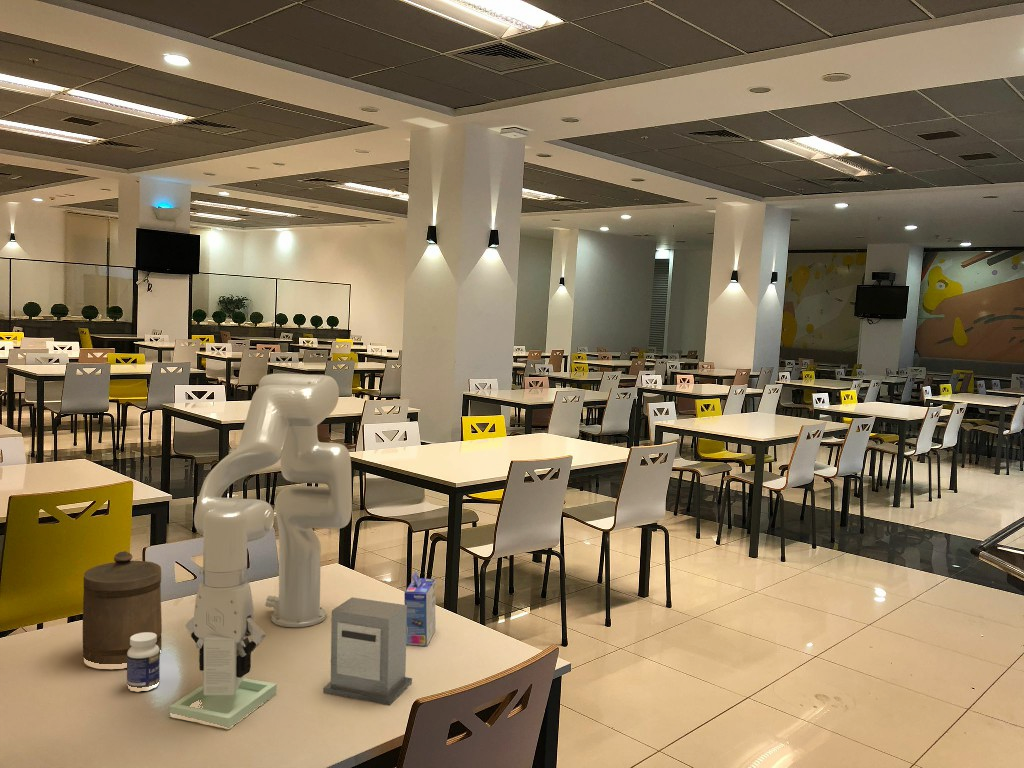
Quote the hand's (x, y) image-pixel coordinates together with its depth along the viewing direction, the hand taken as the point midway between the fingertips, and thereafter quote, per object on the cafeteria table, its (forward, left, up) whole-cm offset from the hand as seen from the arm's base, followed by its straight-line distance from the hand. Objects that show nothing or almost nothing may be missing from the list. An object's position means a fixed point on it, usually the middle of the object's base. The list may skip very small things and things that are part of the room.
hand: (224, 670), depth 151 cm
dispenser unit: (+21, +16, -7) cm, 27 cm away
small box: (0, 0, -3) cm, 3 cm away
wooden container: (-33, +11, -7) cm, 35 cm away
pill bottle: (-19, +1, -7) cm, 20 cm away
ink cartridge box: (+20, +43, -7) cm, 48 cm away
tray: (0, 0, -7) cm, 7 cm away
